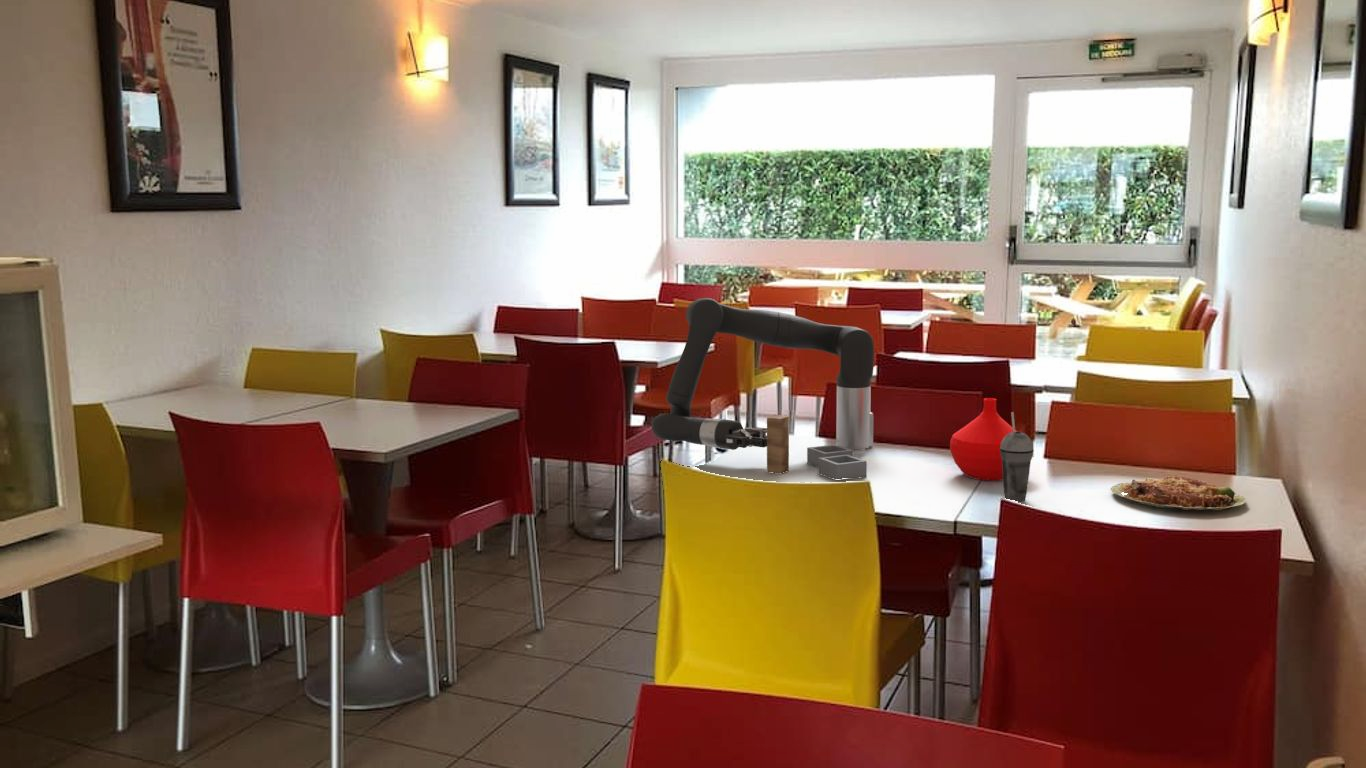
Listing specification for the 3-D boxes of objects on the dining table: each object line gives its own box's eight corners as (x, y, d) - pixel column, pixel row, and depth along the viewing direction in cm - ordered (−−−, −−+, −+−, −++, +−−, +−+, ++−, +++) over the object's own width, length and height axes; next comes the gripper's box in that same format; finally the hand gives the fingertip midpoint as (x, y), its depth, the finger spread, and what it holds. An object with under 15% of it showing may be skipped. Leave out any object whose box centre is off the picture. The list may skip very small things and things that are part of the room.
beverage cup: (1036, 504, 243) (1039, 415, 240) (1002, 504, 244) (1005, 415, 241) (1026, 496, 251) (1029, 409, 248) (994, 496, 251) (997, 409, 248)
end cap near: (847, 470, 278) (847, 454, 278) (866, 477, 270) (866, 461, 270) (818, 473, 275) (818, 458, 274) (837, 480, 267) (837, 464, 266)
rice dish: (1133, 484, 266) (1133, 462, 265) (1259, 497, 248) (1260, 473, 247) (1092, 508, 244) (1092, 484, 243) (1228, 524, 227) (1228, 498, 226)
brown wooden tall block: (775, 469, 280) (775, 414, 278) (788, 471, 278) (788, 416, 276) (766, 472, 277) (766, 417, 275) (780, 474, 275) (780, 418, 273)
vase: (1030, 486, 259) (1033, 406, 257) (950, 483, 263) (952, 404, 260) (1022, 469, 277) (1025, 393, 274) (948, 466, 281) (949, 392, 278)
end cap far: (834, 459, 291) (835, 444, 290) (852, 465, 283) (853, 450, 282) (807, 462, 287) (807, 447, 286) (824, 469, 279) (824, 453, 279)
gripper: (705, 423, 280) (760, 430, 270) (736, 415, 291) (789, 420, 282) (706, 452, 281) (760, 460, 272) (736, 443, 292) (789, 449, 283)
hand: (775, 440), depth 277 cm, fingers open, 8 cm apart
